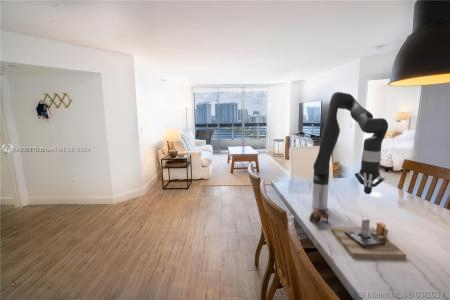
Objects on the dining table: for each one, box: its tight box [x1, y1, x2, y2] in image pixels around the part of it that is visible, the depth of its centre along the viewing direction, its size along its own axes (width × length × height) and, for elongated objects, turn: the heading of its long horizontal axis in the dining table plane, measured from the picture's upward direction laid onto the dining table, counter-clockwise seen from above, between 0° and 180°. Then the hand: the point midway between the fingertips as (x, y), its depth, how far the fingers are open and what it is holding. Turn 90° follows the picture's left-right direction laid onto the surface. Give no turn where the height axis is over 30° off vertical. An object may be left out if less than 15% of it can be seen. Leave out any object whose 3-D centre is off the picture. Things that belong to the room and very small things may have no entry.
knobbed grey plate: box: [345, 222, 387, 247], centre depth 100 cm, size 16×12×7 cm
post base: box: [330, 217, 407, 260], centre depth 100 cm, size 22×22×12 cm
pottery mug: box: [309, 209, 330, 224], centre depth 121 cm, size 12×10×8 cm
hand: (367, 193), depth 104 cm, fingers closed
